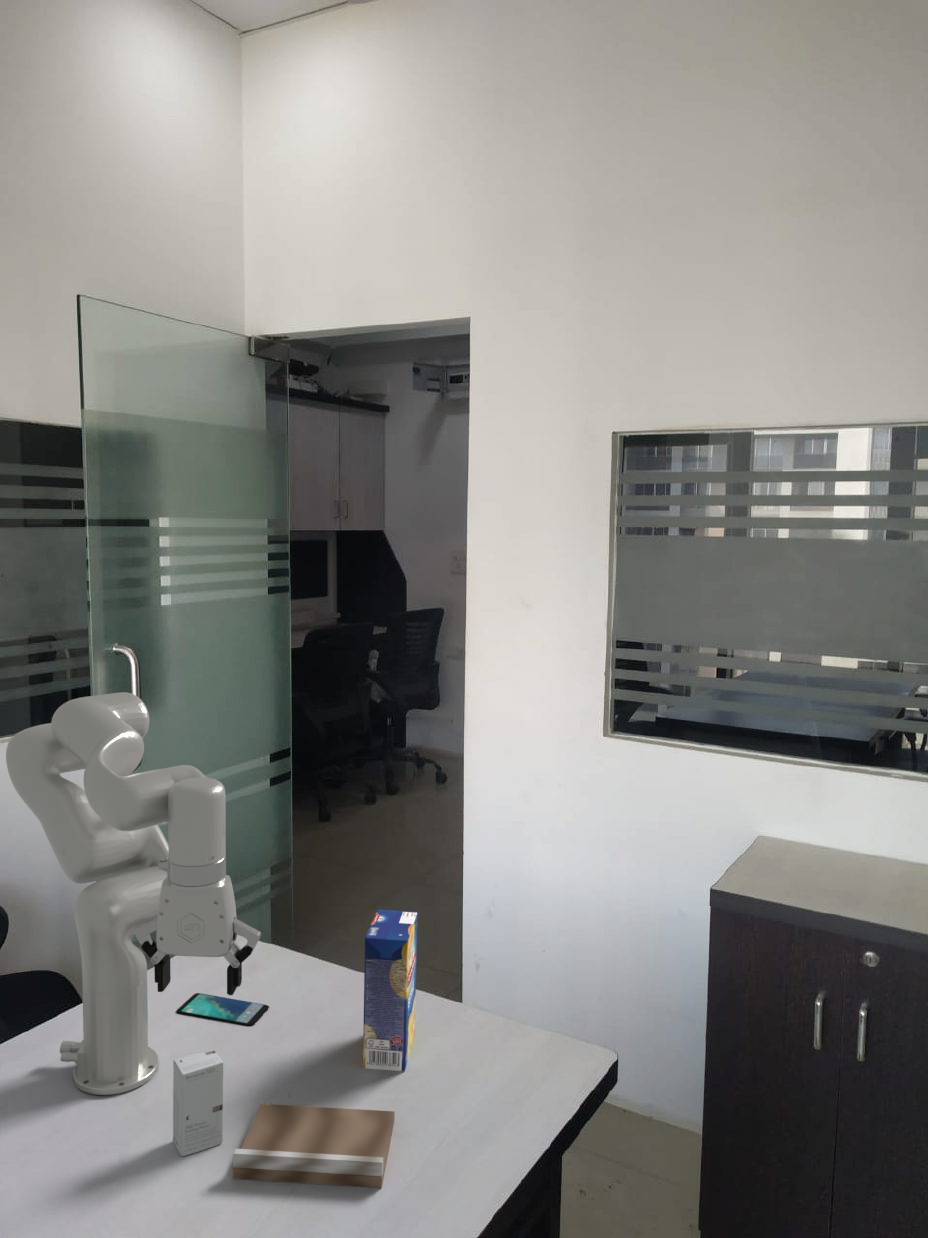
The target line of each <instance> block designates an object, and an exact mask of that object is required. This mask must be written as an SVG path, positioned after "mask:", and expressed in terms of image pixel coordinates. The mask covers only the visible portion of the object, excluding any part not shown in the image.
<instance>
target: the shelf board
mask: <svg viewBox="0 0 928 1238" xmlns="http://www.w3.org/2000/svg"><path fill="white" fill-rule="evenodd" d="M394 1124H395V1111H394V1110H377V1109H375V1110H374V1109H362V1108H361V1109H358V1108H357V1109H356V1108H340V1107H327V1106H326V1107H323V1106H310V1105H309V1106H306V1105H302V1106H301V1105H292V1104H291V1105H288V1104H287V1105H286V1104H274V1103H273V1104H272V1103H260V1104H259V1106H258V1108H257V1110H256V1112H255V1115H254V1118H253V1120H252V1123H251V1125H250V1127H249V1130H248V1132H247V1135H246V1136H245V1139H244V1141H243V1143H242V1146H241V1148H235V1149H234V1152H233V1161H232V1162H233V1165H232V1166H233V1167H232V1179H233V1180H245V1181H247V1180H248V1181H259V1182H260V1181H261V1182H262V1181H264V1182H277V1183H293V1184H295V1183H296V1184H310V1185H311V1184H312V1185H329V1186H330V1185H331V1186H344V1187H358V1188H359V1187H362V1188H375V1189H377V1188H378V1189H382V1188H383V1183H384V1178H385V1172H386V1167H387V1162H388V1161H387V1160H388V1156H389V1153H390V1152H389V1151H390V1145H391V1141H392V1134H393V1130H394V1126H395V1125H394Z"/></svg>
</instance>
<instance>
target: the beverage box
mask: <svg viewBox="0 0 928 1238" xmlns="http://www.w3.org/2000/svg"><path fill="white" fill-rule="evenodd" d="M417 947H418V912H417V911H404V910H403V911H402V910H388V909H376V912H375V914H374V916H373V918H372V921H371V923H370V925H369V928H368V930H367V932H366V935H365V936H364V971H363V973H364V977H363V979H364V980H363V981H364V982H363V988H364V989H363V1028H362V1029H363V1031H362V1032H363V1038H362V1039H363V1040H362V1041H363V1043H362V1069H368V1070H371V1069H372V1070H380V1071H381V1070H382V1071H394V1072H406V1069H407V1064H408V1061H409V1059H410V1058H409V1057H410V1053H411V1050H412V1046H413V1042H414V1038H415V1033H416V1032H415V1031H416V1030H415V1027H416V997H417V996H416V993H417V991H416V990H417V988H416V986H417V985H416V984H417V951H418V950H417Z"/></svg>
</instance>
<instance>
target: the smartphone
mask: <svg viewBox="0 0 928 1238" xmlns="http://www.w3.org/2000/svg"><path fill="white" fill-rule="evenodd" d="M268 1008H269V1009H270V1006H269V1005H267V1004H262V1003H258V1002H252V1001H245V1000H241V999H234V998H229V997H224V996H223V997H222V996H218V995H213V994H205V993H200V992H197V993H194V994H193V995H191V996H190V997H189V998H188V999H187V1000H186V1001H185V1002H183V1004H182V1005H181V1006H180V1007H179V1008H177V1010H176V1013H177V1014H178V1015H183V1016H189V1017H194V1018H198V1019H199V1018H200V1019H205V1020H211V1021H216V1022H220V1023H227V1024H234V1025H238V1026H244V1027H249V1026H250V1027H254V1026H255V1025H256V1024H257V1023H258V1022H259V1020H260V1019H261V1018H262V1017H263V1016H264V1015H265V1014H266V1013H267V1012H268V1010H269V1009H268ZM265 1012H266V1013H265ZM264 1013H265V1014H264ZM263 1014H264V1015H263ZM256 1022H257V1023H256ZM255 1023H256V1024H255Z"/></svg>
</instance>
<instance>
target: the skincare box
mask: <svg viewBox="0 0 928 1238" xmlns="http://www.w3.org/2000/svg"><path fill="white" fill-rule="evenodd" d="M172 1074H173V1078H172V1080H173V1085H172V1087H173V1088H172V1092H173V1093H172V1100H173V1101H172V1107H173V1108H172V1116H173V1117H172V1140H173V1143H174V1145H175V1147H176V1149H177V1151H178V1153H179V1155H180V1156H181V1157H183V1156H188V1155H191V1154H194V1153H198V1152H202V1151H204V1150H208V1149H210V1148H213V1147H217V1146H219V1145H220V1144H222V1142H223V1129H224V1128H223V1127H224V1126H223V1121H224V1120H223V1119H224V1114H223V1113H224V1110H223V1109H224V1062H223V1060H222V1058H221V1057H220V1056H219V1054H218V1053H217V1052H216V1050H215V1049H209V1050H207V1051H203V1052H197V1053H193V1054H190V1055H187V1056H185V1057H181V1058H176V1059H173V1073H172Z"/></svg>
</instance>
